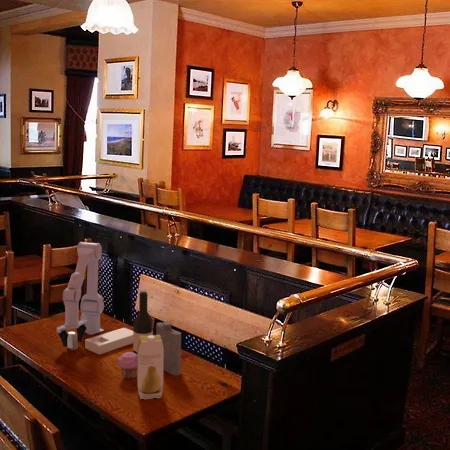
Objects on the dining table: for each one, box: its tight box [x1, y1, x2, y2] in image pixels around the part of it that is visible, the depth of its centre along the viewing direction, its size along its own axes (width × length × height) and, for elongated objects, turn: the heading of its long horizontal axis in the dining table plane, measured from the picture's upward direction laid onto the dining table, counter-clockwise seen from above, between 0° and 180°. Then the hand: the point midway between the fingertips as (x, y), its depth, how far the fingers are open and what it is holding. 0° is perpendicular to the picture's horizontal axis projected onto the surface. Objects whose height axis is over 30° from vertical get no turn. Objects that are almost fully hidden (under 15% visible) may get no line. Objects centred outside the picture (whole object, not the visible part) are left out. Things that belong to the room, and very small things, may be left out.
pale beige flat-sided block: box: [84, 327, 133, 355], centre depth 272 cm, size 10×22×4 cm, turn 139°
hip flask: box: [155, 321, 182, 376], centre depth 248 cm, size 16×4×20 cm, turn 39°
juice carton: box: [136, 334, 164, 400], centre depth 223 cm, size 9×8×24 cm
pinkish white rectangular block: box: [66, 331, 78, 351], centre depth 267 cm, size 4×2×7 cm, turn 49°
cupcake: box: [117, 351, 137, 380], centre depth 240 cm, size 9×9×10 cm
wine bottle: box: [132, 290, 154, 354], centre depth 256 cm, size 8×8×30 cm
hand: (72, 344), depth 267 cm, fingers open, 7 cm apart
